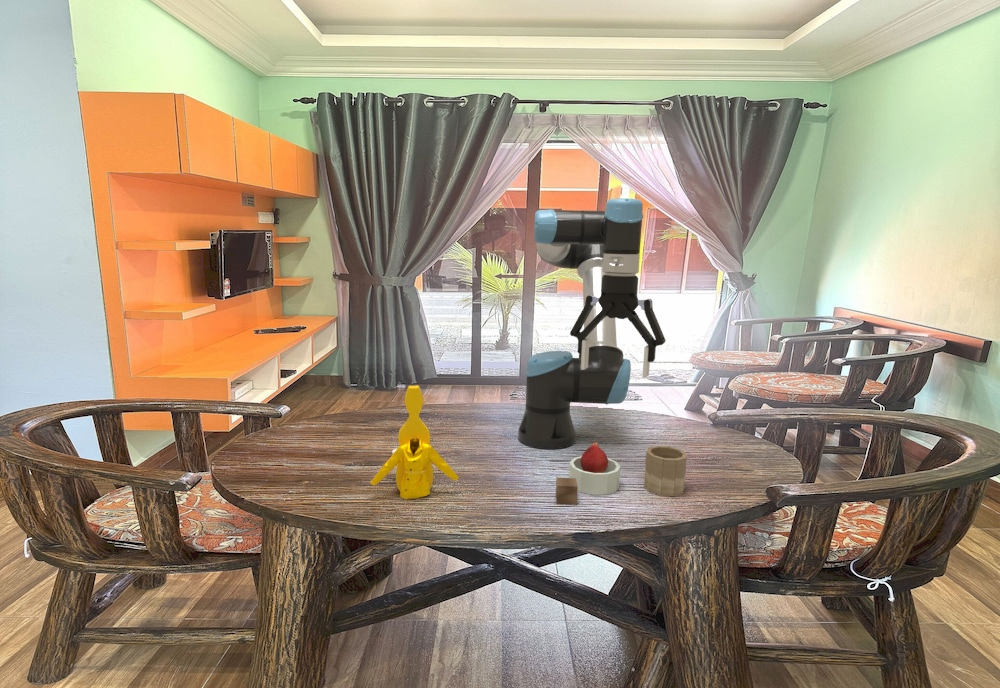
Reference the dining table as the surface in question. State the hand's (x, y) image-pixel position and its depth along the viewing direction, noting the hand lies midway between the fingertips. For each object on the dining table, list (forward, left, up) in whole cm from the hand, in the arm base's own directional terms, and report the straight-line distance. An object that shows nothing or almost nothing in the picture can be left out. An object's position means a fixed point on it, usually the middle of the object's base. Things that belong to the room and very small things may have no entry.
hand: (614, 372), depth 121 cm
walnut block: (-5, -16, -24) cm, 29 cm away
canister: (+12, -1, -24) cm, 27 cm away
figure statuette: (-34, -27, -24) cm, 49 cm away
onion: (-2, -6, -23) cm, 24 cm away
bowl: (-2, -6, -24) cm, 25 cm away
